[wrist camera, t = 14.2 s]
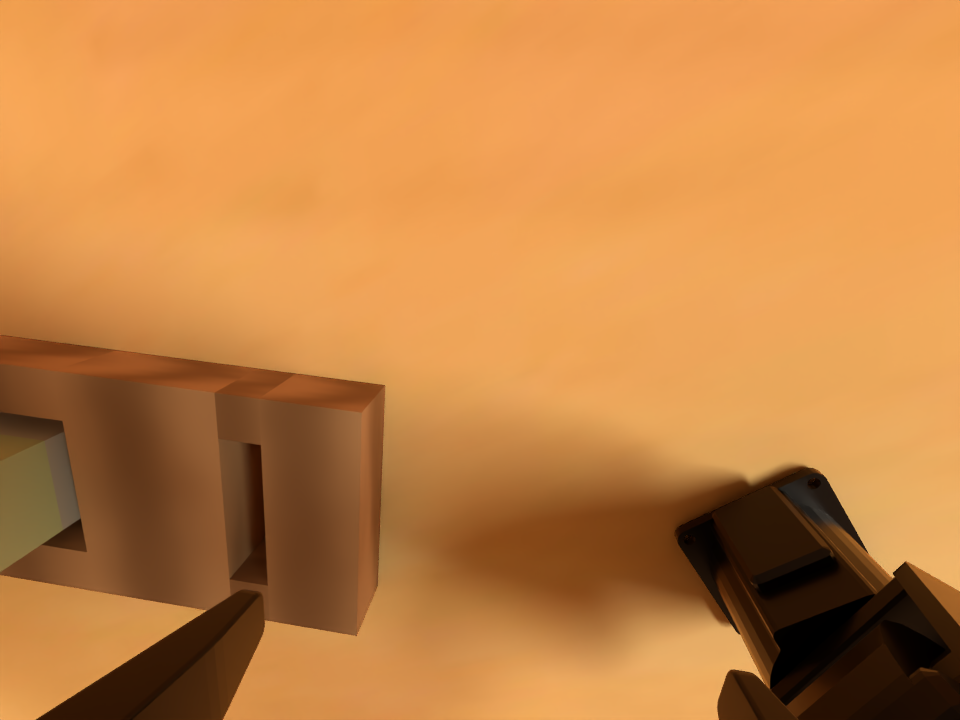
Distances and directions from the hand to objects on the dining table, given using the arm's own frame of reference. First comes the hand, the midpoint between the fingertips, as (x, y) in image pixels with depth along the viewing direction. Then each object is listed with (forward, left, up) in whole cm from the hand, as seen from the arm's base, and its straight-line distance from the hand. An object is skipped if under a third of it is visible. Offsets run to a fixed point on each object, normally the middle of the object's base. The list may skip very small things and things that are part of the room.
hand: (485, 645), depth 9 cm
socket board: (+7, +16, -12) cm, 21 cm away
